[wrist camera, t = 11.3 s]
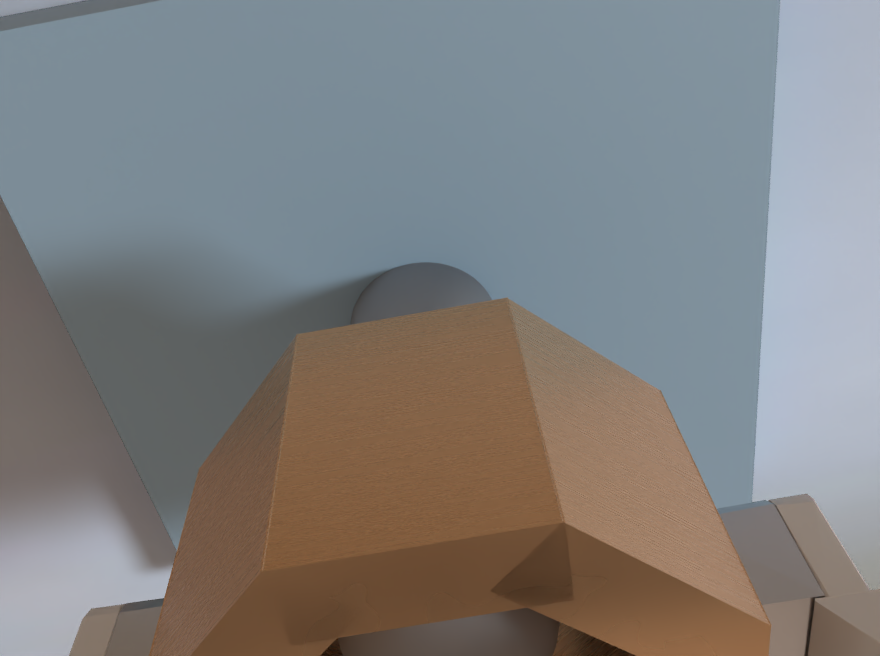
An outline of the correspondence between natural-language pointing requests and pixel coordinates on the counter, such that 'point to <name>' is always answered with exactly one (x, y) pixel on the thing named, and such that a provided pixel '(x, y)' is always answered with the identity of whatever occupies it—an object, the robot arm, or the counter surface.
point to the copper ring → (454, 500)
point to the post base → (394, 204)
